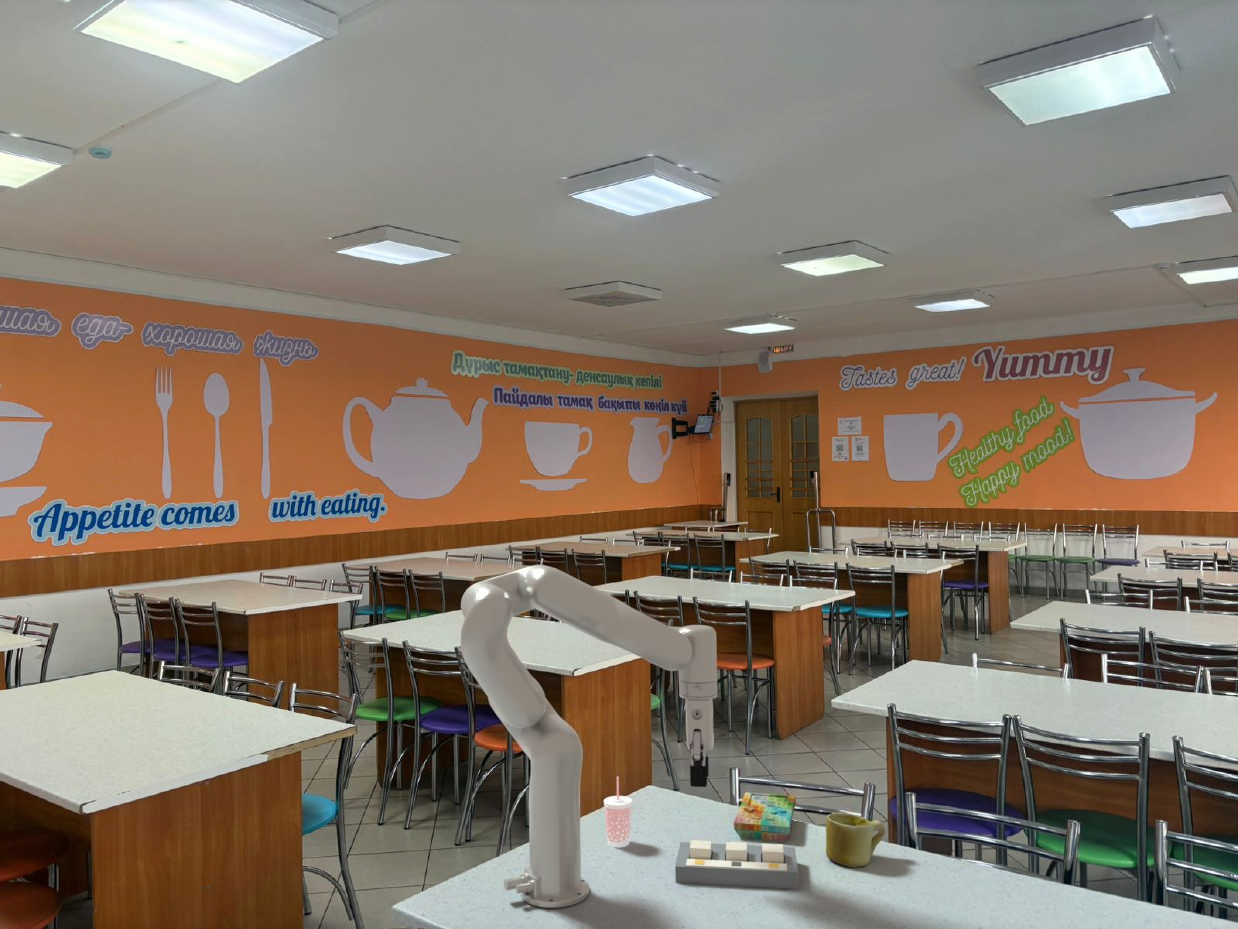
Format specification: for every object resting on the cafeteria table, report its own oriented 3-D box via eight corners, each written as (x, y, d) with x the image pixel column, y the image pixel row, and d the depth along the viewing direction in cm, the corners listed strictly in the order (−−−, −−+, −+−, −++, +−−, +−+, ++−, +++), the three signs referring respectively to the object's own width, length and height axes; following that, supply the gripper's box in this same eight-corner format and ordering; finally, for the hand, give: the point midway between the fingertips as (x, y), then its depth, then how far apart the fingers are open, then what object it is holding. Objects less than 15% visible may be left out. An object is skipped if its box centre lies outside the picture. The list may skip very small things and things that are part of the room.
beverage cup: (611, 836, 189) (611, 770, 190) (637, 840, 186) (636, 774, 187) (599, 846, 184) (598, 779, 184) (625, 851, 181) (624, 782, 182)
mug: (828, 863, 169) (833, 809, 172) (816, 859, 179) (821, 808, 182) (891, 876, 168) (895, 821, 172) (875, 871, 178) (879, 819, 182)
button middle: (747, 866, 168) (746, 850, 168) (726, 865, 168) (725, 849, 168) (747, 858, 172) (746, 842, 172) (726, 857, 172) (726, 841, 172)
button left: (710, 864, 169) (710, 849, 169) (690, 863, 169) (689, 848, 169) (711, 856, 173) (711, 841, 173) (691, 855, 173) (691, 840, 173)
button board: (798, 889, 162) (798, 871, 162) (675, 882, 166) (675, 864, 166) (795, 862, 174) (794, 846, 174) (680, 857, 177) (680, 840, 178)
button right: (783, 868, 167) (783, 852, 167) (762, 867, 167) (762, 851, 167) (783, 860, 171) (782, 844, 171) (762, 859, 171) (762, 843, 171)
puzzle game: (733, 818, 187) (745, 788, 206) (734, 840, 187) (745, 808, 206) (788, 823, 184) (795, 792, 203) (789, 845, 184) (796, 812, 203)
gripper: (715, 698, 164) (717, 796, 163) (718, 680, 180) (720, 769, 180) (675, 697, 165) (677, 795, 164) (682, 679, 182) (683, 767, 181)
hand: (699, 780), depth 172 cm, fingers open, 5 cm apart
